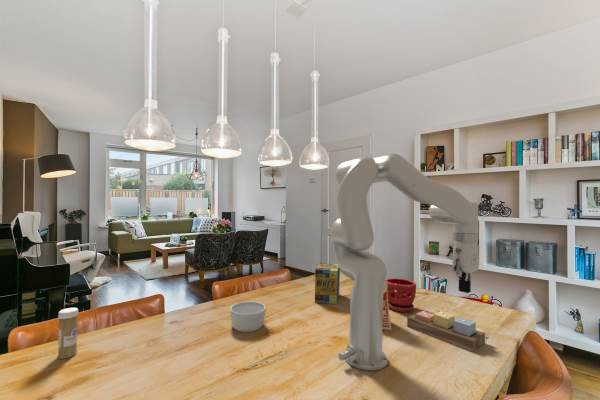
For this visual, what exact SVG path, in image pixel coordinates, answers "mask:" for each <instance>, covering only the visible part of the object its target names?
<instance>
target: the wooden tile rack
mask: <svg viewBox="0 0 600 400" xmlns="http://www.w3.org/2000/svg"><path fill="white" fill-rule="evenodd" d="M406 320H407V321H406V327H407V328H409V329H413V330H415V331H417V332H420V333H423V334H425V335H427V336H431V337H433V338H434V339H435V338H436V339H438V340H441V341H443V342H445V343H448V344H451V345H453V346H456V347H458V348H461V349H463V350H466V351H468V352H471V353H473V352H474V351H475V350H477V349H478V348H480V347H481V346H483V345H484V344H485V342H486V339H485V338H486V333H485V332H483V331H480V330H477V329H476V333H474V334H472V335H471V336H466V335H463V334H461V333H458V332H455V331H453V326H452V327H450V328H448V329H447V328H444V327H441V326H438V325H435V324H433V321H432V322H429V323H428V322H425V321H422V320H419V319H416V313H415V314H412V315H410V316H408V317H407V318H406Z"/></svg>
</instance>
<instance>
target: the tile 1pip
mask: <svg viewBox="0 0 600 400" xmlns="http://www.w3.org/2000/svg"><path fill="white" fill-rule="evenodd" d="M476 324H477V322H476V321H472V320H470V319H466V318H464V317H460V316H459V317H458V318H457V319H454V321H453V331H455V332H458V333H461V334H463V335H466V336H471V335H472V334H474V333H476V330H477V329H476V328H477V327H476Z"/></svg>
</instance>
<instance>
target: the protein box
mask: <svg viewBox="0 0 600 400" xmlns="http://www.w3.org/2000/svg"><path fill="white" fill-rule="evenodd" d="M314 275H315V276H314V303H317V302H319V303H320V304H330V305H337V304H338V300H339V297H340V284H341V283H340V279H341V278H340V277H341V270H340V268H339V266H338V263H337V264H336V263H327V262H319V264H318V265H317V267H316V268H315V271H314ZM319 303H318V304H319Z"/></svg>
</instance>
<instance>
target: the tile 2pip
mask: <svg viewBox="0 0 600 400" xmlns="http://www.w3.org/2000/svg"><path fill="white" fill-rule="evenodd" d="M433 314H434V320H433V324H435V325H438V326H441V327H444V328H447V329H448V328H450V327H452V326H453V321H454V320H455V315H454V314H451V313H447V312H445V311H442V310H440V311H437V312H435V313H433Z"/></svg>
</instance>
